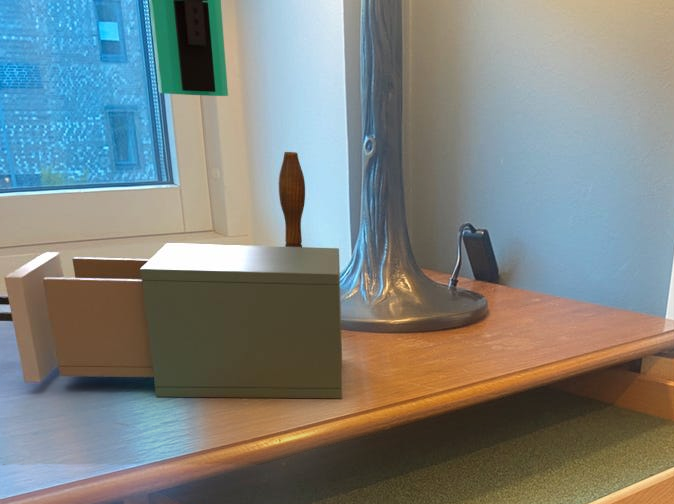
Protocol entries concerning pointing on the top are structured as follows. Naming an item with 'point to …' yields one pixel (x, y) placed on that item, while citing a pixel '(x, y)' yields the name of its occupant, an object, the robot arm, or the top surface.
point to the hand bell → (292, 198)
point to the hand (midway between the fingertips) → (192, 89)
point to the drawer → (79, 317)
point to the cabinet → (244, 321)
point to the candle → (168, 48)
